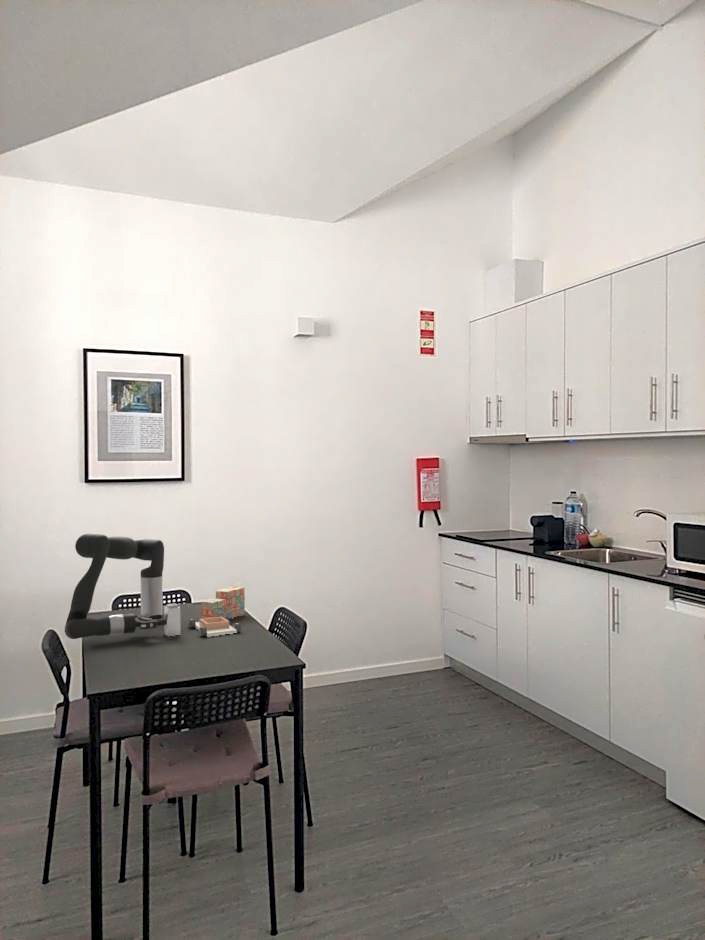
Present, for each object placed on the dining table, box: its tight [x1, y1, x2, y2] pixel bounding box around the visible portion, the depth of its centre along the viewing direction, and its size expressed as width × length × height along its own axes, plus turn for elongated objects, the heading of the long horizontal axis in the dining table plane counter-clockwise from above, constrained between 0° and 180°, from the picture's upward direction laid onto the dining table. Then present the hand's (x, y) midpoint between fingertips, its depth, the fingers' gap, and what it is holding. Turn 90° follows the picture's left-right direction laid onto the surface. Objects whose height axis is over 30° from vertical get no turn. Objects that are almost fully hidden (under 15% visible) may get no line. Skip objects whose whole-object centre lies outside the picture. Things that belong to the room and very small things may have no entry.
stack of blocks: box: [201, 586, 246, 620], centre depth 320 cm, size 21×6×12 cm, turn 150°
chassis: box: [187, 615, 242, 638], centre depth 300 cm, size 20×16×4 cm
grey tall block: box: [163, 603, 181, 638], centre depth 292 cm, size 5×5×12 cm
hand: (163, 619), depth 291 cm, fingers open, 8 cm apart
